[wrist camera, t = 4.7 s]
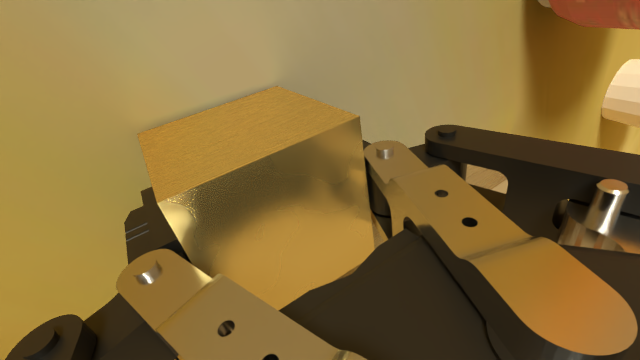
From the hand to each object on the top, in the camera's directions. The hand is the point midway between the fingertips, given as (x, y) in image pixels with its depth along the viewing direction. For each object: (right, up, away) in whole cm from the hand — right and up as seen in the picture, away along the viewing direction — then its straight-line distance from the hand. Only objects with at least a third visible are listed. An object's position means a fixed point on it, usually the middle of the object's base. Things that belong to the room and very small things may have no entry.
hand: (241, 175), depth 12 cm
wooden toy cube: (0, 0, +1) cm, 1 cm away
